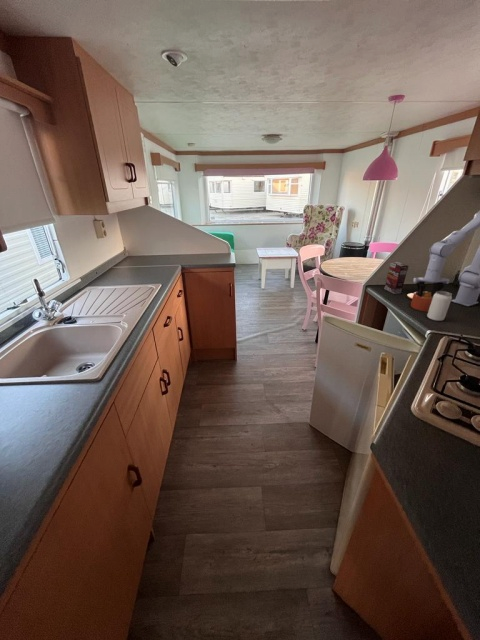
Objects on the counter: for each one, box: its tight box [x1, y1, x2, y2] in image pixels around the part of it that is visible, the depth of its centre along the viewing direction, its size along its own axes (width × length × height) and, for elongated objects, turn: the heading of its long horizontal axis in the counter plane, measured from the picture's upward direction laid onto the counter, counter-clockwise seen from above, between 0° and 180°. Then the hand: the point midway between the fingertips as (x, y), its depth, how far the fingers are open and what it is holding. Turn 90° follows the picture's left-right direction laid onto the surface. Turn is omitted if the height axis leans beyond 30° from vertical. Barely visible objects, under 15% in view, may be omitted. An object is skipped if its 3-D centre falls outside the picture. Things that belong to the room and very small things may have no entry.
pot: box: [410, 291, 433, 313], centre depth 129 cm, size 10×10×6 cm
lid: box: [407, 290, 425, 300], centre depth 139 cm, size 11×11×5 cm
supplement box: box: [383, 261, 409, 295], centre depth 147 cm, size 9×5×16 cm, turn 10°
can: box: [426, 290, 453, 322], centre depth 116 cm, size 6×6×12 cm
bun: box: [422, 291, 432, 299], centre depth 127 cm, size 5×5×4 cm
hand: (425, 297), depth 128 cm, fingers closed on bun, 5 cm apart
